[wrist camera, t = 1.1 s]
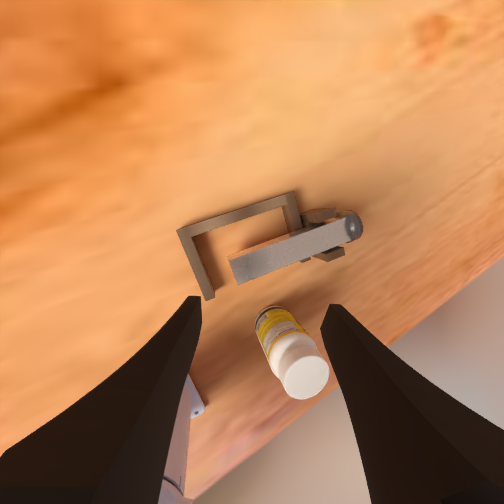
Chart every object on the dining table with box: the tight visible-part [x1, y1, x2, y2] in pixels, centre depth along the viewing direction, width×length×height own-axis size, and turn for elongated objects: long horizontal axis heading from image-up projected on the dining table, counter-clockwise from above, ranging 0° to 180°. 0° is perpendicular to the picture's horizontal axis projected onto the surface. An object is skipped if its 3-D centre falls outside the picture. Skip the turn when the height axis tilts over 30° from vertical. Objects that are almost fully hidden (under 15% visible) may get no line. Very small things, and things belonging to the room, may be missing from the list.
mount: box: [176, 191, 345, 301], centre depth 19 cm, size 14×8×4 cm, turn 108°
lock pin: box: [227, 210, 363, 285], centre depth 19 cm, size 13×3×3 cm, turn 108°
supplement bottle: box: [255, 306, 329, 399], centre depth 19 cm, size 5×5×8 cm
